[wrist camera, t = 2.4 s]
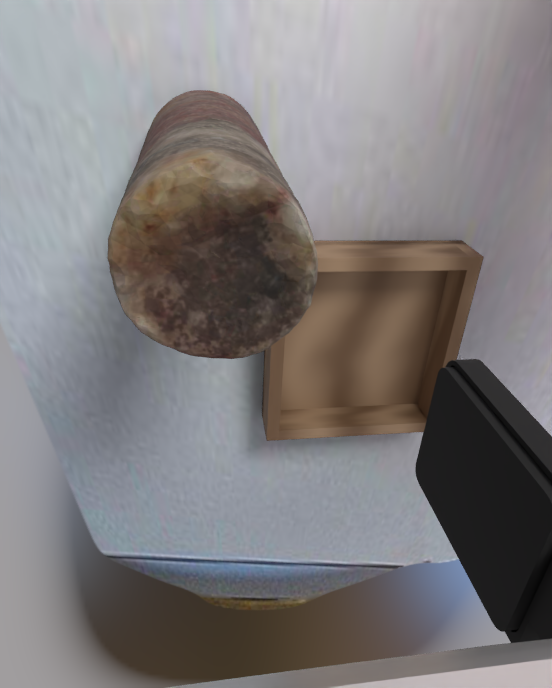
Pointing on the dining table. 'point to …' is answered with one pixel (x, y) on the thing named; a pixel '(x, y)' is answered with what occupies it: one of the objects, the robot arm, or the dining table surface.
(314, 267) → the candle
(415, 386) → the wooden tray
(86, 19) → the dining table surface
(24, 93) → the dining table surface
